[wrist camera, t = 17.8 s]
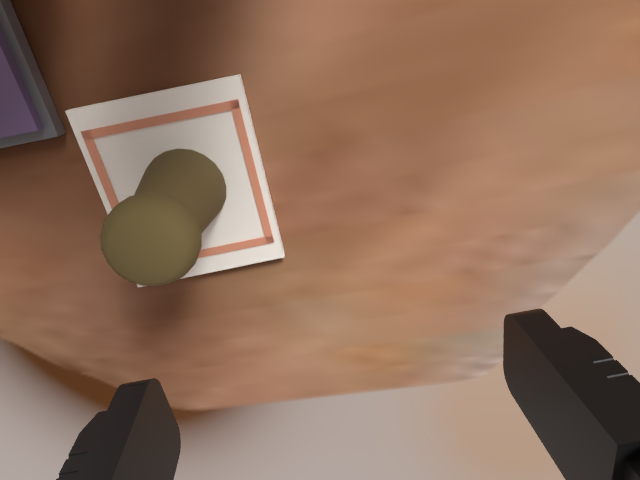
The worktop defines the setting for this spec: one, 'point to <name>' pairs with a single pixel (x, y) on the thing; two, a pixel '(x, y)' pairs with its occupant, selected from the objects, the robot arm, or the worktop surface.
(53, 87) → the worktop surface
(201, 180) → the olive rounded piece
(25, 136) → the ink pad
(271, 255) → the marked board
